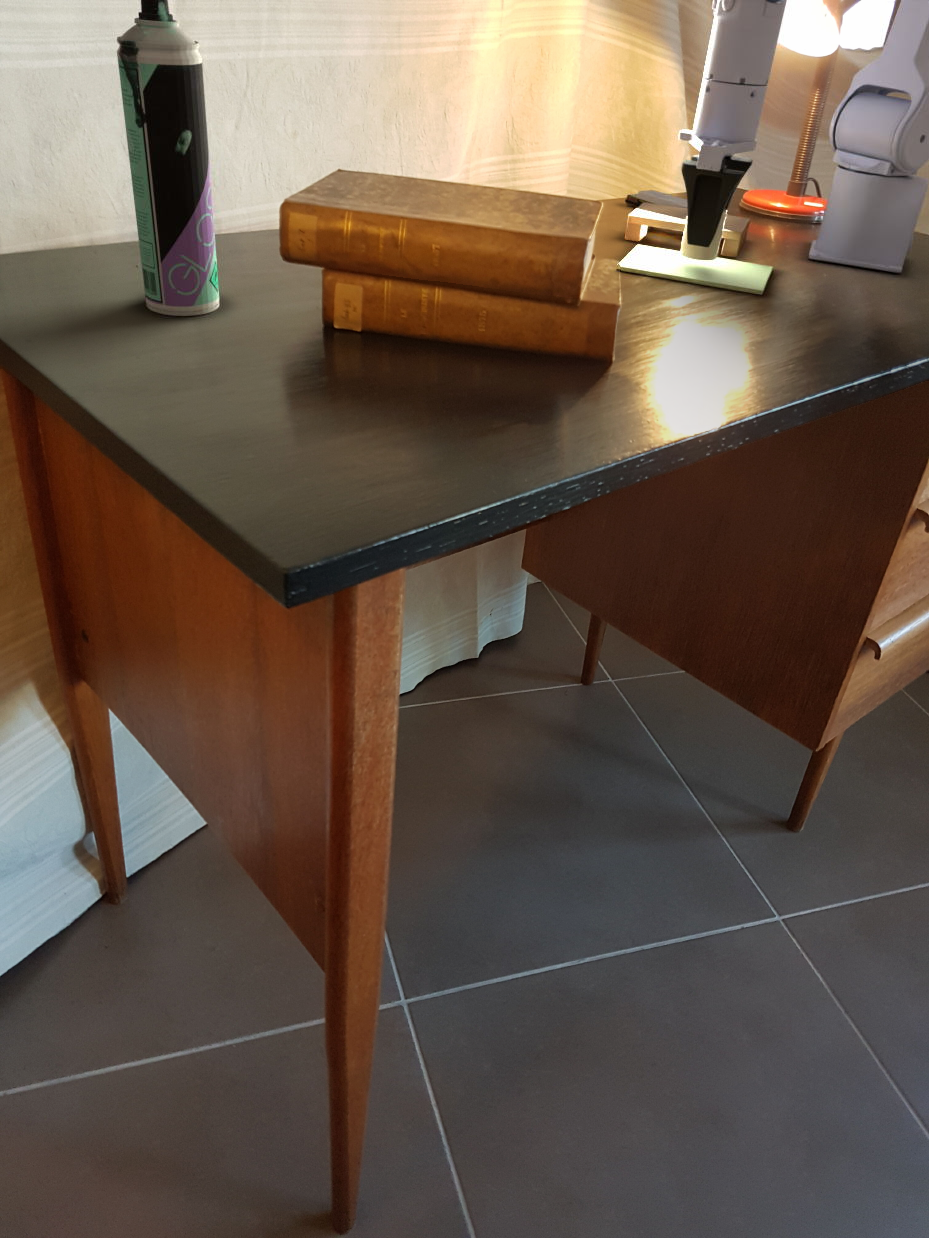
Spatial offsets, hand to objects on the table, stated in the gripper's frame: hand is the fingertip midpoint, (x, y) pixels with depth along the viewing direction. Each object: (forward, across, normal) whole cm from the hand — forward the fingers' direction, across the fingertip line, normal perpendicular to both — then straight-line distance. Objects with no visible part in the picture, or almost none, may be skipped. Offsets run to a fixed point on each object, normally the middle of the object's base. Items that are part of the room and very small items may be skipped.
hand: (701, 240), depth 93 cm
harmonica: (+3, -23, -6) cm, 24 cm away
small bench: (+3, -12, -3) cm, 13 cm away
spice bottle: (+1, 0, 0) cm, 1 cm away
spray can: (+3, +37, -34) cm, 50 cm away
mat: (+3, 0, 0) cm, 3 cm away
